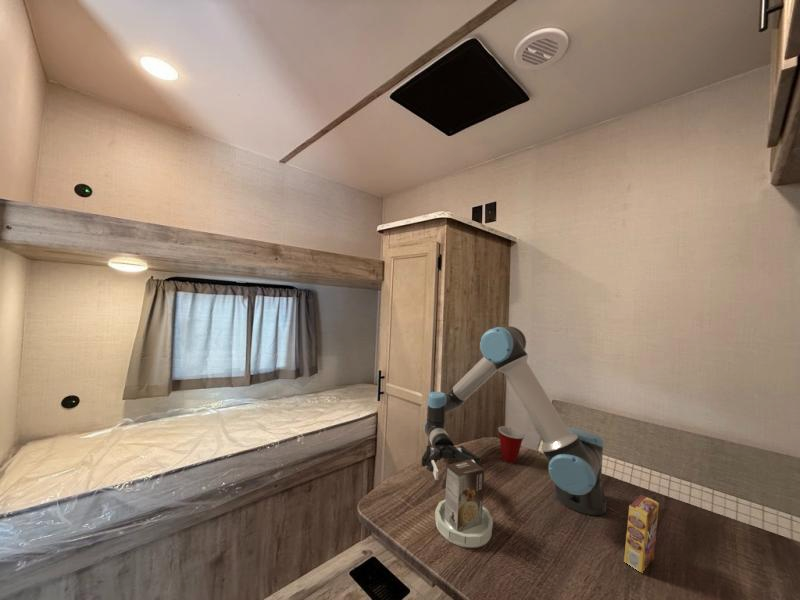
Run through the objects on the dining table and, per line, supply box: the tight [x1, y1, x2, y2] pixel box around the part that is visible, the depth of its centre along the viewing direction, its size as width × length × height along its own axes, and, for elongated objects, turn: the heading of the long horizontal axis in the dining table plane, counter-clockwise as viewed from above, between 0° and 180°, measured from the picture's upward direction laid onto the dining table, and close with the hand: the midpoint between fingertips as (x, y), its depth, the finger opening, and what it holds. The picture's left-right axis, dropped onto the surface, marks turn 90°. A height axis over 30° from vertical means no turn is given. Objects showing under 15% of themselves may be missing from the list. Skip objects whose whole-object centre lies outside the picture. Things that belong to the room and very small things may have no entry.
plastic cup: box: [497, 425, 526, 464], centre depth 127 cm, size 11×11×12 cm
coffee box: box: [444, 460, 485, 532], centre depth 88 cm, size 9×6×16 cm
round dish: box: [434, 498, 494, 549], centre depth 88 cm, size 16×16×3 cm
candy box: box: [623, 494, 660, 574], centre depth 79 cm, size 9×4×15 cm, turn 125°
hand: (458, 475), depth 94 cm, fingers open, 13 cm apart
